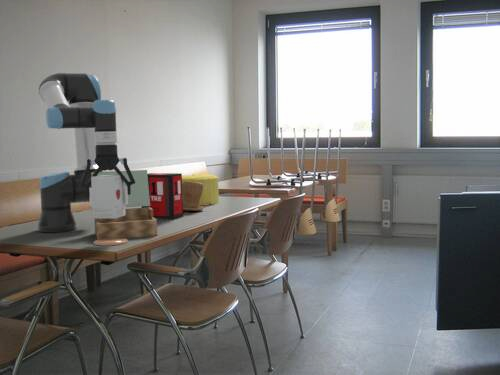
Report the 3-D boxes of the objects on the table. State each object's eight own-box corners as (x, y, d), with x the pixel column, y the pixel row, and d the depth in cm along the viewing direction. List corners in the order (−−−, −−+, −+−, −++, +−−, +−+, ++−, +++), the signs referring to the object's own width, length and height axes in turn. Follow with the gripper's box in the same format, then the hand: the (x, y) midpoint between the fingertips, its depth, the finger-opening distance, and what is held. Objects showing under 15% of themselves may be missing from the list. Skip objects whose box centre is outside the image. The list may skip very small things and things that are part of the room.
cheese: (178, 200, 335) (177, 174, 333) (222, 200, 331) (222, 173, 330) (165, 206, 309) (164, 177, 308) (213, 206, 305) (212, 177, 304)
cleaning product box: (183, 216, 270) (181, 173, 268) (173, 219, 261) (172, 175, 259) (151, 215, 276) (150, 173, 274) (141, 218, 267) (140, 174, 265)
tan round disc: (94, 247, 203) (94, 245, 202) (92, 241, 214) (92, 239, 214) (129, 244, 206) (129, 242, 206) (125, 238, 218) (125, 236, 218)
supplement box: (116, 218, 204) (114, 176, 202) (92, 219, 205) (89, 176, 204) (126, 215, 212) (124, 174, 211) (103, 215, 214) (101, 174, 213)
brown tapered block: (208, 209, 291) (207, 179, 290) (197, 213, 280) (196, 182, 279) (181, 208, 297) (180, 179, 295) (169, 212, 286) (168, 181, 284)
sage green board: (91, 172, 232) (91, 172, 233) (93, 209, 229) (93, 209, 229) (146, 169, 239) (146, 170, 240) (150, 205, 236) (150, 205, 236)
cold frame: (97, 240, 215) (96, 215, 215) (95, 233, 230) (94, 210, 229) (157, 235, 222) (156, 212, 221) (151, 229, 237) (150, 207, 236)
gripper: (71, 145, 199) (74, 208, 201) (141, 143, 207) (144, 204, 209) (70, 144, 206) (73, 206, 208) (138, 143, 214) (141, 201, 216)
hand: (109, 205), depth 209 cm, fingers closed on supplement box, 12 cm apart
